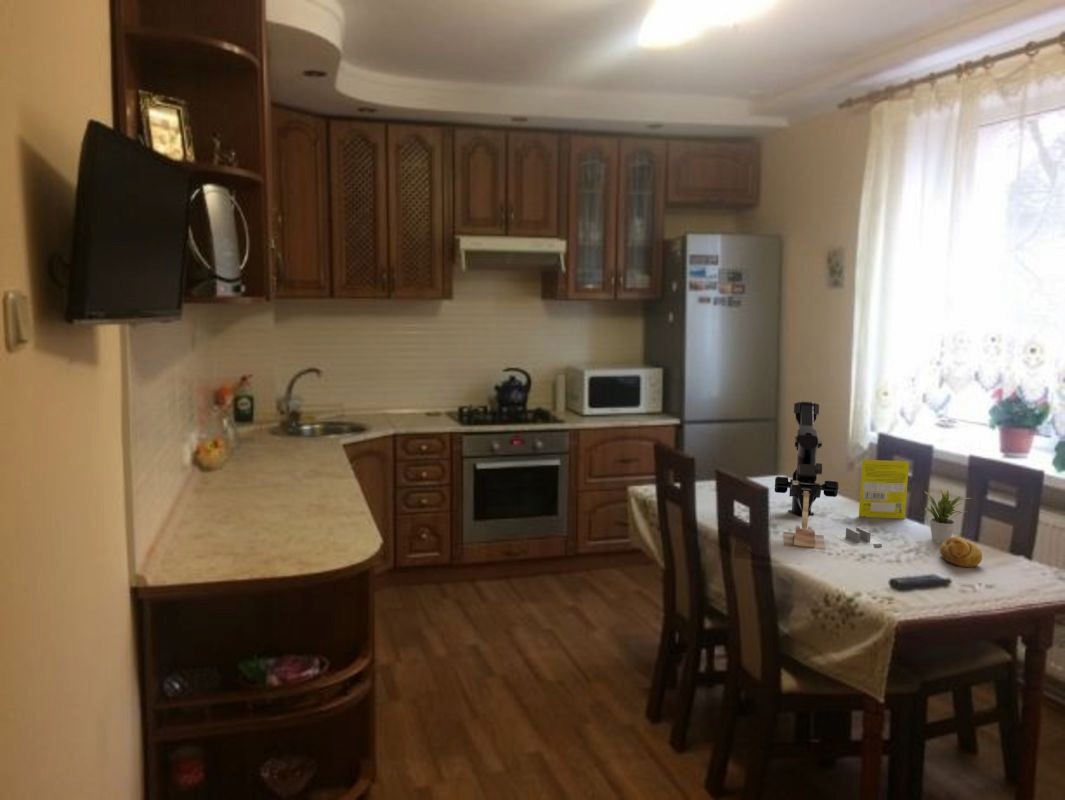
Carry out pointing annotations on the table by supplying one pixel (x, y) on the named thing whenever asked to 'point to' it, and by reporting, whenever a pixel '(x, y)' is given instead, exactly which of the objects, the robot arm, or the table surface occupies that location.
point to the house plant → (943, 517)
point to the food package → (883, 488)
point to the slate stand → (858, 537)
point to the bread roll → (961, 552)
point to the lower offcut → (804, 542)
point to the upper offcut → (805, 533)
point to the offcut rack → (790, 542)
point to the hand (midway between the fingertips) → (805, 510)
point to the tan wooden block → (805, 509)
